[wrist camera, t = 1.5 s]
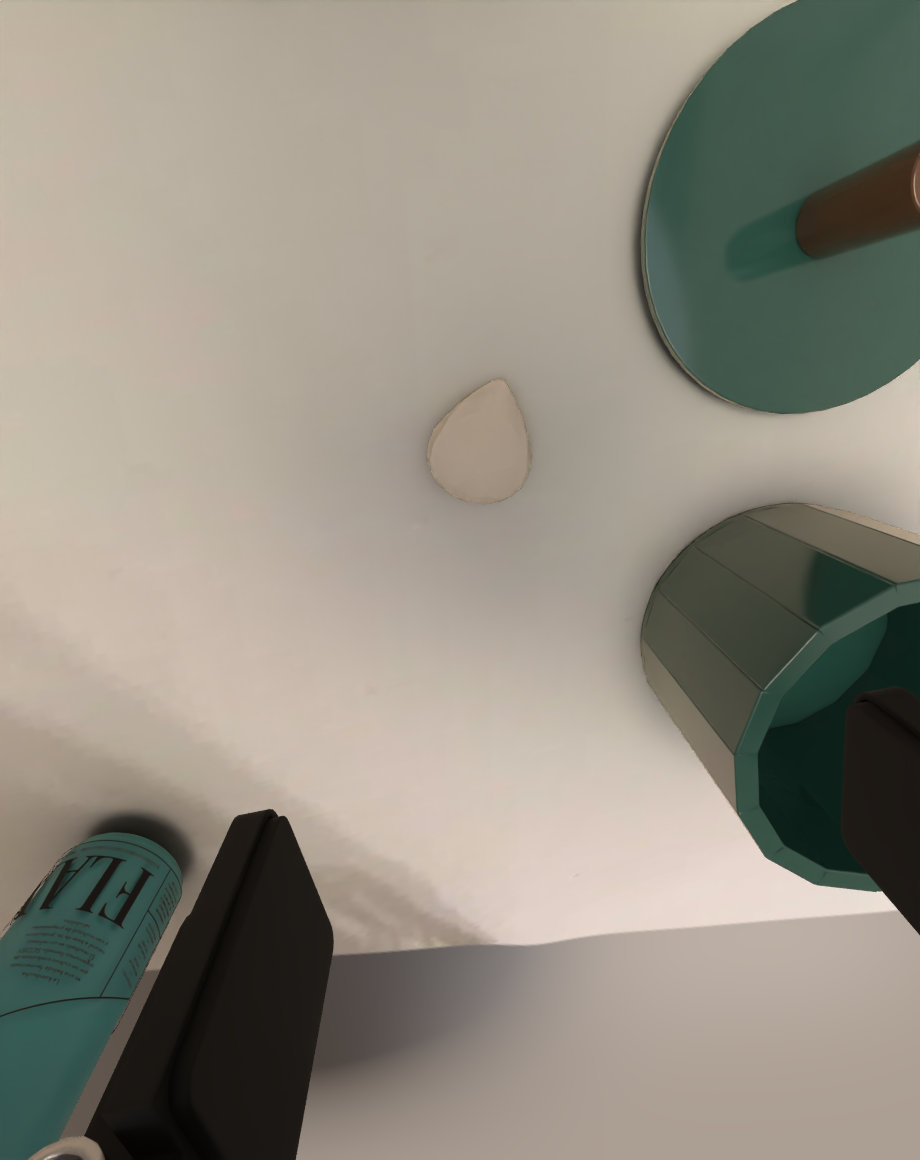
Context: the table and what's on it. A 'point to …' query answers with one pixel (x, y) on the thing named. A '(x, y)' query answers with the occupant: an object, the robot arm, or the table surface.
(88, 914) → the beverage bottle
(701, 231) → the lid
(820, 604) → the canister
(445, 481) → the beige teardrop wedge
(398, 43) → the table surface
